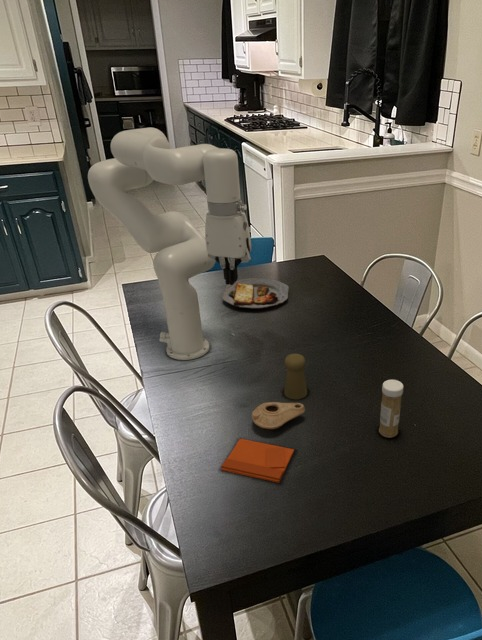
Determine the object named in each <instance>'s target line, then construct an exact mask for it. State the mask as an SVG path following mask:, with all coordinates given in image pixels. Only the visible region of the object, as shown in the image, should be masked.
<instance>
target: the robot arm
mask: <svg viewBox="0 0 482 640" xmlns="http://www.w3.org/2000/svg"><path fill="white" fill-rule="evenodd" d="M110 152H111V154H112V156H113V158H109V159H105V160H101V161H98V162H96V163H94V164H93V165H92V166H91V167H90V168H89V169H88V173H87V180H88V185H89V188H90V190H91V192H92V195H93V197H94V198H95V199H96V201H97V202H98V203H99V204H100V206H101V207H102V208H103V209H104V210H105V211H107V212H108V213H109V214H110V215H111V216H113V217H114V218H115V219H116V220H117V221H118V222H119V223H120V224H121V225H122V227H123V228H124V230H126V232H127V233H128V234H129V235H130V236H131V237H132V238H133V240H134V241H135V242H136V244H137V245H138V246H139V247H141V249H142V250H143V251H144V252H146V253H148V254H155V253H156V254H155V255H154V257H153V259H152V260H153V261H152V266H153V270H154V273H155V275H156V278H157V281H158V283H159V287H160V292H161V297H162V301H163V306H164V307H163V308H164V311H165V312H164V313H165V319H166V325H167V330H168V332H166V331H161V332H160V334H159V342H160V343H166V344H167V345H166V348H165V351H166V354H167V356H168V357H170V358H172V359H174V360H179V361H189V360H195V359H198V358H200V357H202V356H205V354H207V353H208V352H209V351H210V348H211V347H210V346H211V345H210V342H209V341H208V340H207V339H206V338H205V337H204V333H203V327H202V326H203V325H202V318H201V311H200V302H199V297H198V292H197V289H196V288H195V287H194V286H193V285H192V284H191V283H190V281H189V280H190V279H191V278H194V277H195V276H198V275H201V274H203V273H205V272H207V271H209V270H211V269H212V268H214V266H215V264H216V262H217V263H218V265H220V268H221V269H222V272H223V280H225V281H224V282H225V285H226V286H228V285H229V284H230V285H233V284H234V283H235V282H236V281H238V279H239V275H238V267H239V266H240V265H241V264H245V263H249V262H250V261H251V260H252V257H251V255H250V253H251V252H252V240H251V238H252V237H251V232H250V226H249V222H248V218H247V215H246V212H243V211H247V208H248V207H247V204H246V203H243V201H242V199H241V184H240V172H239V159H238V154H237V152H236V151H235V150H233V149H231V148H224V147H223V148H221V147H218V146H215V145H213V144H209V143H200V144H195V145H188V146H187V145H186V146H181V147H176V148H172V146H171V143H170V142H169V140H168V138H167V137H166V135H165V133H163V131H161V129H158V128H155V127H142V128H134V129H127V130H122V131H119V132H117V133H116V134H114V136H113V138H112V139H111V141H110ZM155 181H156V182H158V183H162V184H164V185H165V184H166V185H168V186H185V185H188V184H193V183H197V182H201V181H204V183H205V193H206V202H207V211H208V212H206V215H205V225H204V235H203V234H202V233H201V231H200V230H199V229H198V228H197V226H195V224H194V223H193V222H192V221H191V220H190V219H189V217H187V215H185V214H183V212H180V211H178V210H177V211H176V210H171V211H165V212H162V213H154V212H152V210H150V209H149V207H148V206H147V205H146V204H145V202H143V201H142V200H141V199H139V198H137V197H136V196H134V195H131V194H129V193H127V192H126V191H130V190H135V189H139V188H143V187H147V186H149V185H150V184H152V183H153V182H155Z"/></svg>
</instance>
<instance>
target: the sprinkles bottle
mask: <svg viewBox="0 0 482 640" xmlns="http://www.w3.org/2000/svg"><path fill="white" fill-rule="evenodd" d="M381 393H382V396H381V397H382V398H381V402H380V403H381V404H380V413H379V428H378V433H379V434H380V435H381V436H382V437H384V438H388V439H389V438H391V439H392V438H395V437H396V436H397V435H398V434H399V425H400V424H399V423H400V416H401V415H400V414H401V408H402V407H401V405H402V395H403V394H404V384H403V383H402V381H399V380H398V379H387V380H385V381H384V382H383V383H382V386H381Z"/></svg>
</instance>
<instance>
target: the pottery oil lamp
mask: <svg viewBox="0 0 482 640" xmlns="http://www.w3.org/2000/svg"><path fill="white" fill-rule="evenodd" d="M305 411H306V408H305V404H303V403H300V402H279V401H270V402H269V401H268V402H263V403H261V404H259V405H258V406H257V407H255V409H253V410H252V412H251V418H252V422H253V423H254V424H255V425H256V426H258V427H259V428H261V429H266V430H276V429H280V428H281V427H282V426H283V425H285V424H286V423H288V422H290V421H292V420H295V419H297V418H298V417H300V416H301V415H303V414H304V413H305Z"/></svg>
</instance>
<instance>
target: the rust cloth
mask: <svg viewBox="0 0 482 640" xmlns="http://www.w3.org/2000/svg"><path fill="white" fill-rule="evenodd" d="M294 453H295V449H294V448H289V447H284V446H280V445H274V444H269V443H264V442H259V441H254V440H249V439H244V438H239V439H238V441H237V442H236V444H235V445H234V447H233V449H232V451H231V452H230V454H229V455H228V457H227V458H225V459H224V461H223V463H222V464H221V468H220V469H221V471H222V472H223V471H224V472H228V473H232V474H235V475H236V474H237V475H241V476H246V477H249V478H255V479H259V480H264V481H269V482H273V483H277V484H280V483H281V479H282V478H283V476H284V474H285V472H286V470H287V467H288V466H289V463H290V461H291V459H292V457H293V454H294Z"/></svg>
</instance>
